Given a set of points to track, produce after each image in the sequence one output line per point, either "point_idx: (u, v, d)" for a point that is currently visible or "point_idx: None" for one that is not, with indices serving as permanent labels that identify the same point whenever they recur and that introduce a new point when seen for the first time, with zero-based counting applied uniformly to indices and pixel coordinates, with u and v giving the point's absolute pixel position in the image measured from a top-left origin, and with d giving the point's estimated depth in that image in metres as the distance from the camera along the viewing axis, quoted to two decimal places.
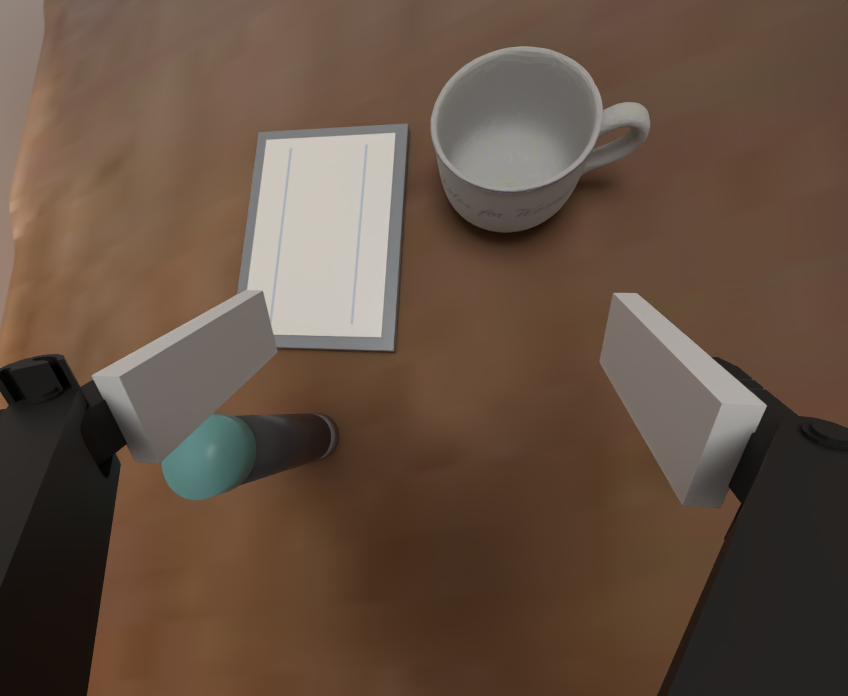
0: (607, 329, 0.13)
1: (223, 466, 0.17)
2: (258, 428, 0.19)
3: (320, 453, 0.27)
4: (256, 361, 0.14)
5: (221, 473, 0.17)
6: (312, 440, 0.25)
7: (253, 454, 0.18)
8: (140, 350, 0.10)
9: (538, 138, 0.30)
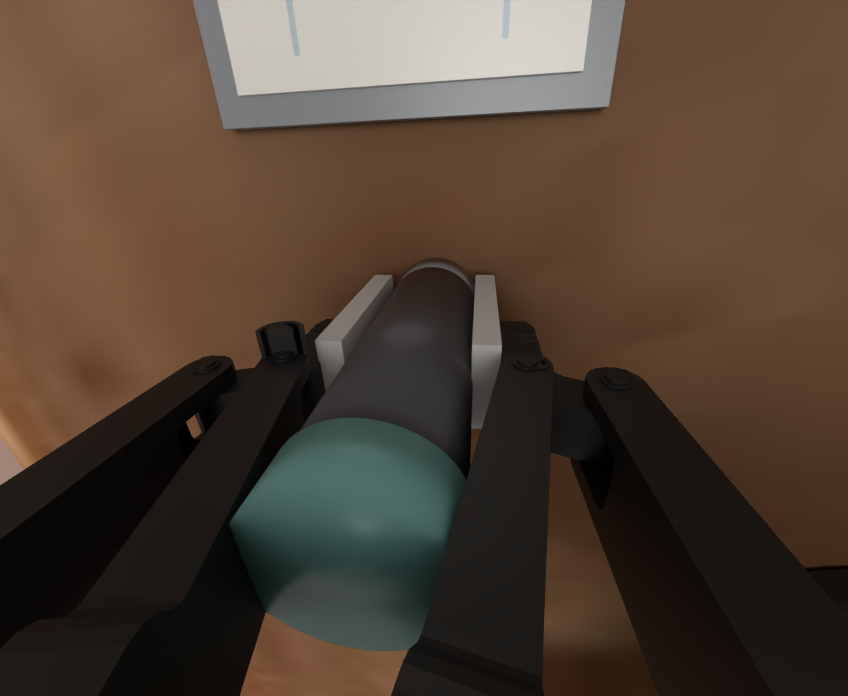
0: None
1: None
2: (445, 424, 0.07)
3: None
4: None
5: (426, 616, 0.06)
6: None
7: None
8: (335, 321, 0.11)
9: None
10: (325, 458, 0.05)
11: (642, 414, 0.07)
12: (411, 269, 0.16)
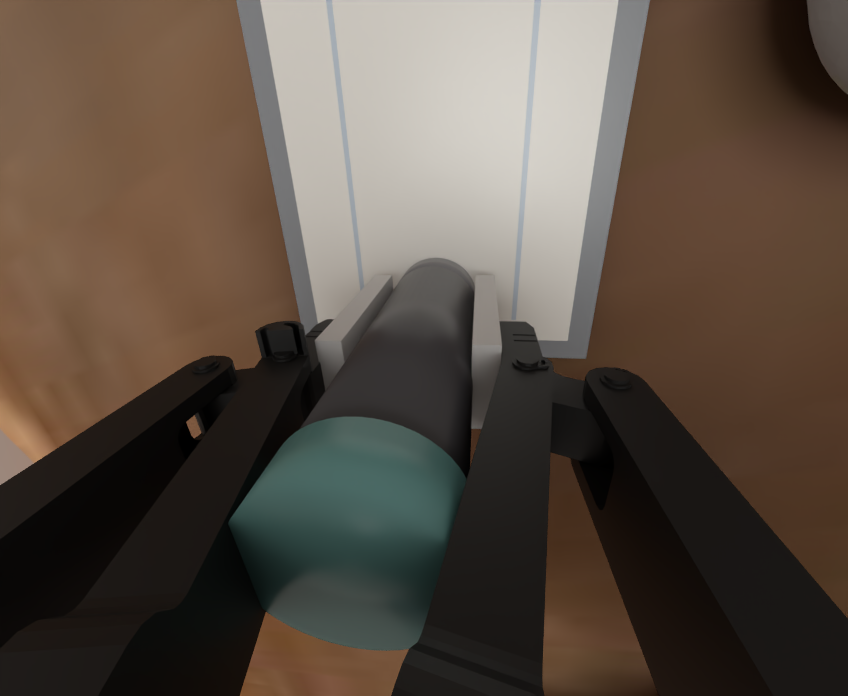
0: None
1: None
2: (445, 424, 0.07)
3: None
4: None
5: (426, 615, 0.06)
6: None
7: None
8: (335, 321, 0.11)
9: None
10: (325, 458, 0.05)
11: (642, 415, 0.07)
12: (411, 268, 0.16)
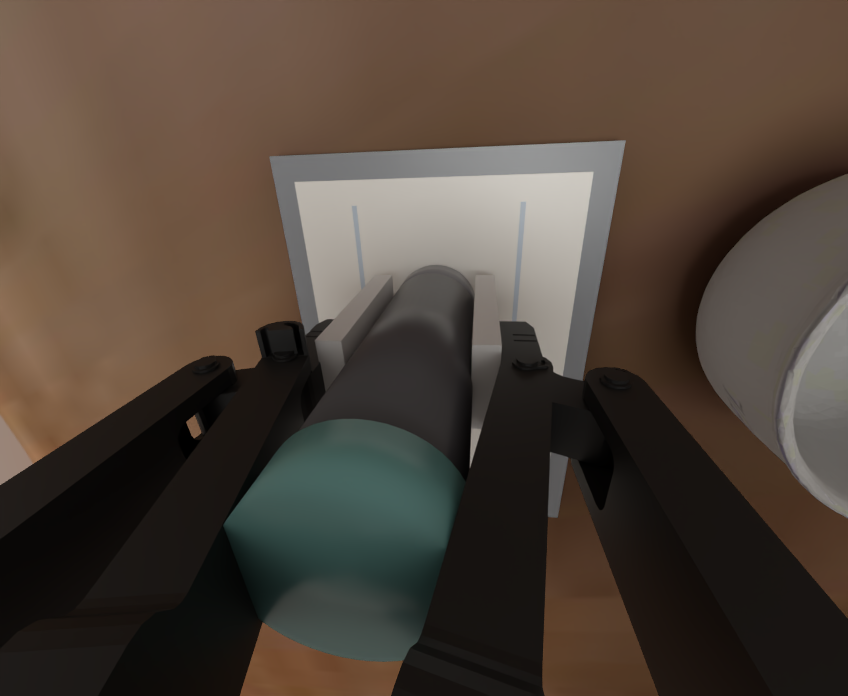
0: None
1: None
2: (445, 427, 0.07)
3: None
4: None
5: None
6: None
7: None
8: (335, 321, 0.11)
9: None
10: (322, 459, 0.05)
11: (642, 415, 0.07)
12: (411, 275, 0.16)
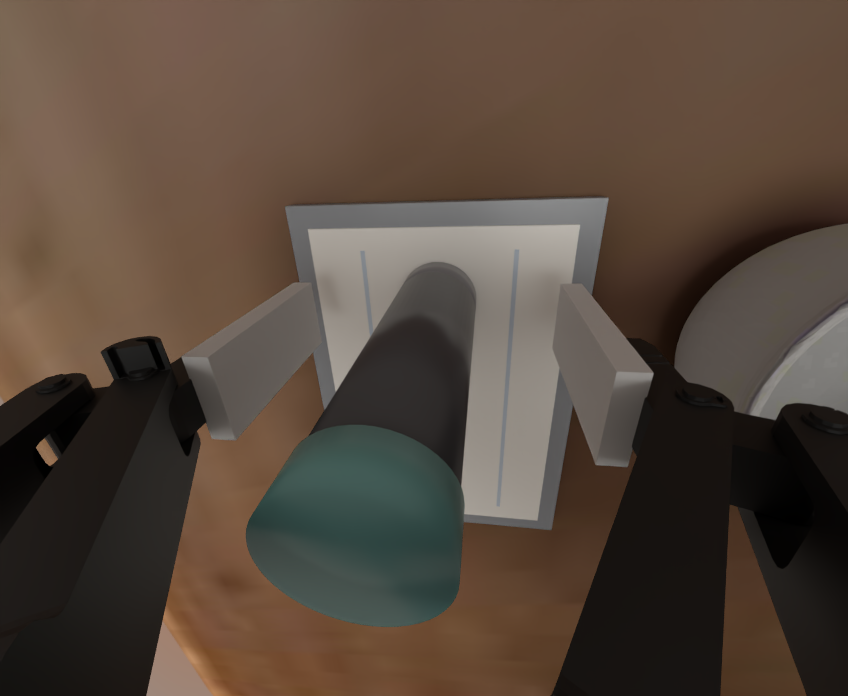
0: (557, 317, 0.14)
1: (424, 588, 0.06)
2: (440, 430, 0.08)
3: None
4: (306, 349, 0.15)
5: (421, 597, 0.07)
6: (472, 344, 0.13)
7: (463, 511, 0.07)
8: (217, 335, 0.11)
9: None
10: (334, 462, 0.06)
11: None
12: (414, 273, 0.16)
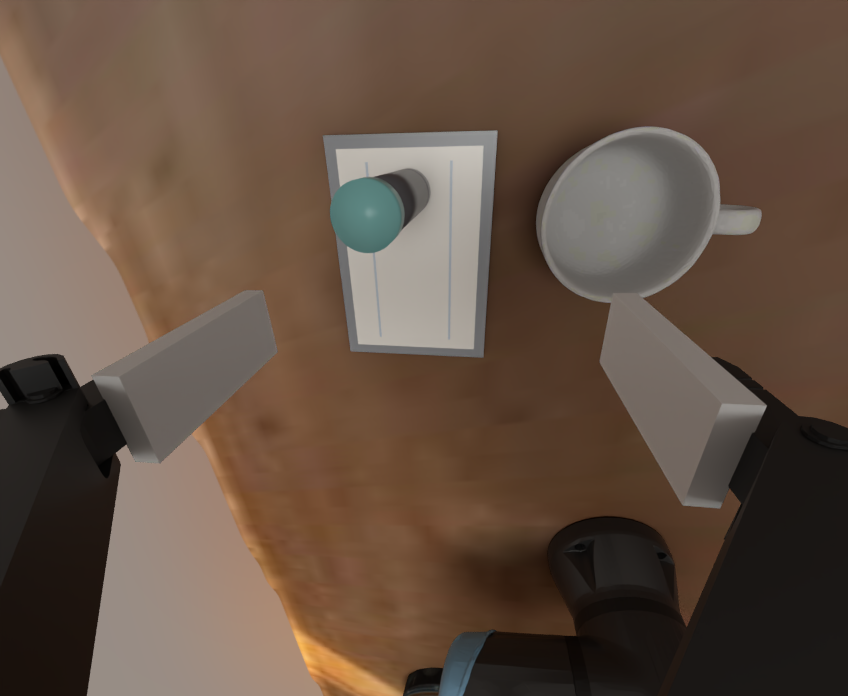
0: (607, 329, 0.13)
1: (388, 224, 0.20)
2: (396, 188, 0.21)
3: (422, 208, 0.29)
4: (256, 361, 0.14)
5: (387, 230, 0.20)
6: (421, 196, 0.27)
7: (403, 212, 0.21)
8: (140, 350, 0.10)
9: (643, 165, 0.28)
10: (360, 178, 0.20)
11: None
12: None
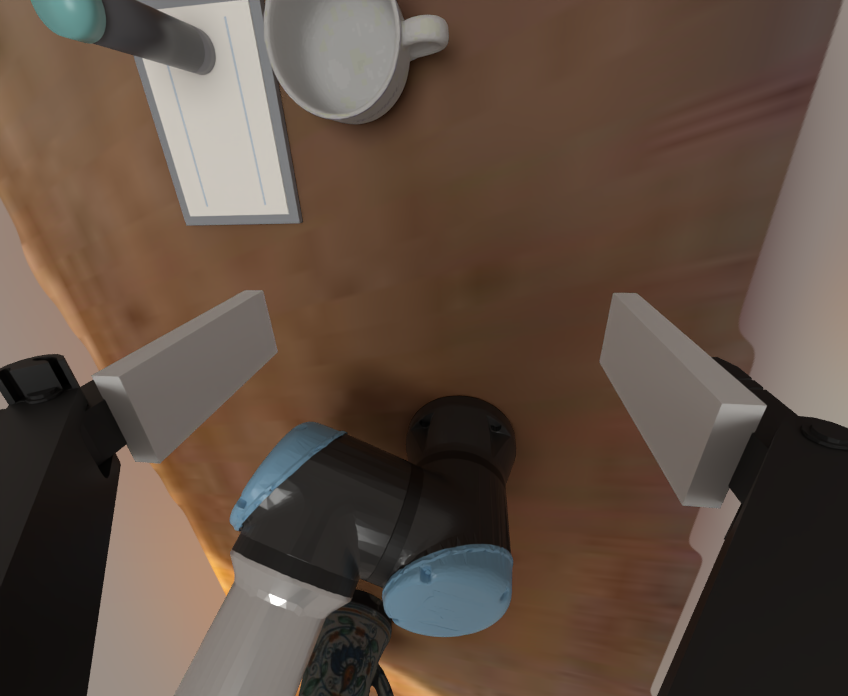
0: (607, 329, 0.13)
1: (75, 3, 0.24)
2: None
3: (195, 55, 0.33)
4: (256, 361, 0.14)
5: (77, 10, 0.24)
6: (175, 31, 0.30)
7: (99, 1, 0.24)
8: (140, 350, 0.10)
9: (378, 7, 0.31)
10: None
11: None
12: None
